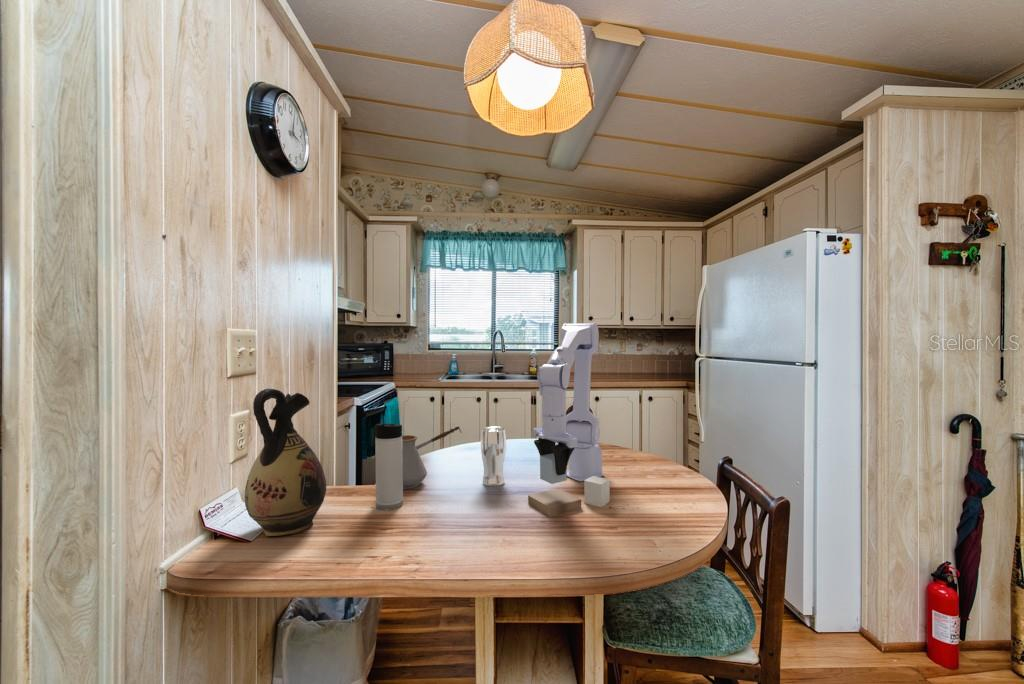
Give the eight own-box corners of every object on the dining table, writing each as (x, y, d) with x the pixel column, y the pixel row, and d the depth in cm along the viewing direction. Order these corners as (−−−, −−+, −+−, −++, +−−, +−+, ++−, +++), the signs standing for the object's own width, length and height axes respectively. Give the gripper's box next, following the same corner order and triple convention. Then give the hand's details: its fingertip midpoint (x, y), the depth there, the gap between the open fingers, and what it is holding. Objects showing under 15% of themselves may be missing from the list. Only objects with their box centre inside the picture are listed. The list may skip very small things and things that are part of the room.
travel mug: (369, 508, 102) (368, 423, 102) (389, 498, 108) (388, 419, 108) (389, 512, 99) (388, 426, 99) (408, 502, 105) (407, 421, 105)
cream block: (592, 497, 108) (592, 475, 108) (609, 501, 105) (609, 479, 105) (584, 503, 104) (584, 480, 104) (601, 507, 102) (601, 484, 102)
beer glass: (505, 487, 116) (505, 431, 116) (479, 487, 116) (479, 431, 116) (506, 478, 123) (506, 426, 123) (482, 478, 123) (481, 426, 123)
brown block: (558, 497, 109) (558, 488, 109) (581, 509, 101) (581, 499, 101) (528, 505, 104) (528, 495, 104) (550, 518, 97) (549, 507, 97)
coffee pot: (384, 494, 111) (383, 436, 111) (383, 480, 122) (383, 427, 122) (465, 485, 118) (465, 430, 117) (458, 472, 129) (458, 422, 128)
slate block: (554, 475, 106) (554, 452, 106) (566, 480, 102) (566, 457, 102) (540, 478, 103) (539, 455, 103) (551, 484, 100) (551, 460, 99)
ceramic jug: (291, 508, 102) (290, 382, 102) (342, 518, 96) (340, 384, 96) (219, 540, 87) (217, 391, 86) (274, 554, 81) (271, 394, 80)
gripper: (522, 411, 107) (523, 466, 107) (559, 421, 94) (560, 483, 95) (545, 409, 110) (546, 462, 111) (584, 418, 98) (584, 477, 98)
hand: (554, 471), depth 103 cm, fingers closed on slate block, 4 cm apart
